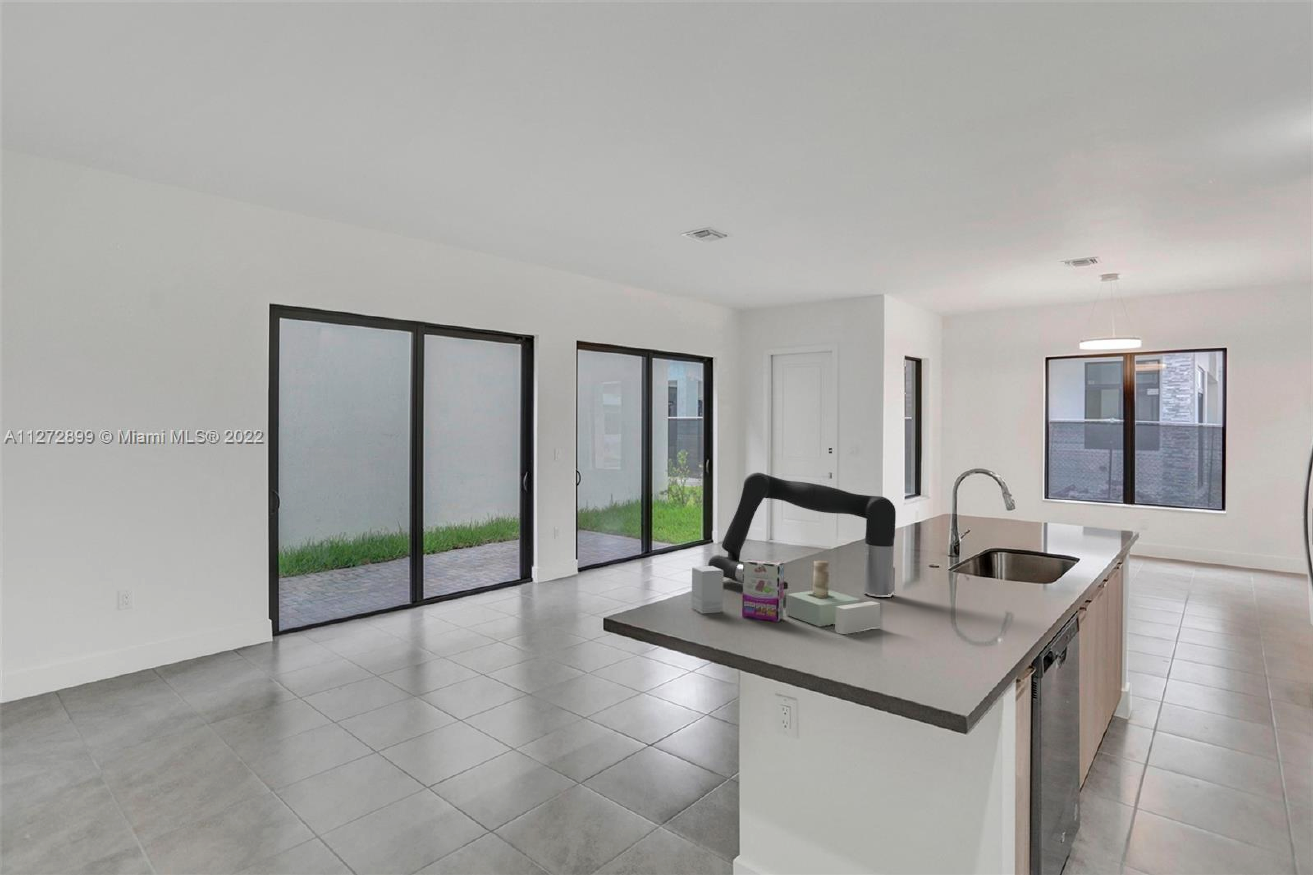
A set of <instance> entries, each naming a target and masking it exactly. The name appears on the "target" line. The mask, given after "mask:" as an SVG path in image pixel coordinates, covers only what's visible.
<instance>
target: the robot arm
mask: <svg viewBox="0 0 1313 875" xmlns="http://www.w3.org/2000/svg"><path fill="white" fill-rule="evenodd" d="M741 492H742V493H741V496H740V500H739V504H738V506H737V509H736V512H735V514H734V516H733V518H732V520H731V523H730V524H729V527H728V528H727V531H726V533H725V536H724V538H723V540H722V543H721V547H722V549H723V550H724V551H726V552H727V556H723V555H713V556H712V557H711V558H710V559H709V560H708V564H707V566H714V567H716V568H719V569H721V570H723V578H726V579H730V580H732V581H735V582H737V583H740V584H742V585H743V562H744V561H742V560H740V558H741V552H742V551H741V550H742V549H743V547H744V543H745V541H746V539H747V537H748V534H749V531H750V528H751V525H752V522H753V518H754V516H755V513H756V512H757V510H758V508H759V506H760V505H761V503H762V502H763V500H764V499H771V500H779V501H782V502H783V501H784V502H785V503H789V504H791V505H794V506H796V507H799V508H802V509H805V510H810V511H813V512H817V513H818V512H820V513H824V514H826V513H827V514H839V515H840V514H843V515H844V514H845V515H852V516H855V517H860V518H863V519H866V520H865V521H866V522H865V523H866V524H865V526H866V527H865V536H864V537H865V538H864V571H863V572H864V576H863V577H864V579H863V580H864V581H863V582H864V583H863V592H864V591H865V592H867V593H870V594H875V595H888V594H891V593H892V592H893V591H894V592H896V591H895V588H896V587H895V582H896V568H895V567H894V552H895V551H894V550H895V549H894V548H895V545H894V544H895V538H896V522H897V520H896V517H897V516H896V513H897V512H896V506H895V505H894V503H893V502H892V501H891V500H890V499H888V498H887V497H885V496H880V495H879V496H877V495H864V494H857V493H852V492H849V491H846V490H843V489H839V488H836V487H832V486H827V485H822V484H817V483H813V482H804V481H796V480H786V479H782V478H778V477H775V476H771V475H768V474H765V473H762V472H754V473H751V474H750V475H748V476H747V477H746V478H745V480H744V481H743V488H742V491H741ZM788 586H789V583H788V582H787V581H785V580H784V587H783V591H785V590H788V589H789V587H788Z"/></svg>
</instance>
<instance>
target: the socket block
mask: <svg viewBox="0 0 1313 875" xmlns="http://www.w3.org/2000/svg"><path fill="white" fill-rule="evenodd" d="M785 595H786V596H785V615H786V616H789V617H791V618H795V619H797V620H799V621H803V622H806V623H809V624H811V625H813V626H816V627H819V628H821V627H826V625H827V626H831V625H830V624H833V625H835V624H834V623H835V619H836V606H843V605H850V604H856V603H862V599H861V598H858V597H854V596H851V595H847V594H843V593H841V592H837V591H835V590H831V589H828V598H826V599H818V598H815V597H813V590H807V591H800V592H792V593H787V594H786V593H785Z"/></svg>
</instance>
